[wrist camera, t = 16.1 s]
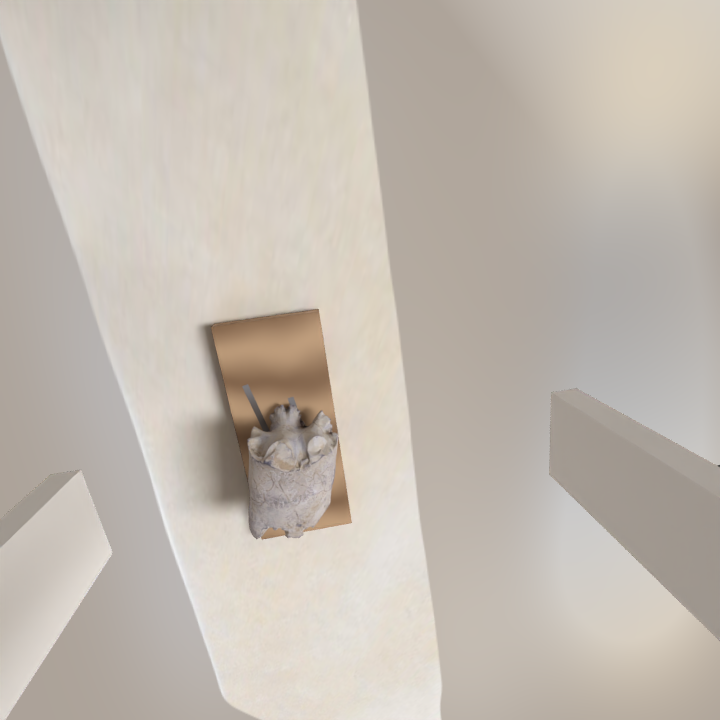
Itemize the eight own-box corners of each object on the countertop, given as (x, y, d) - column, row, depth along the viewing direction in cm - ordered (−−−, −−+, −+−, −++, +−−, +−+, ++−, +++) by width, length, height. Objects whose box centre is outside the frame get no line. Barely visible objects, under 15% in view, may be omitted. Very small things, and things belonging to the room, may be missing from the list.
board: (214, 323, 38) (210, 327, 36) (318, 309, 39) (318, 311, 37) (263, 530, 45) (261, 539, 43) (350, 514, 46) (351, 523, 44)
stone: (253, 506, 42) (243, 555, 36) (254, 401, 39) (244, 434, 32) (328, 506, 43) (332, 553, 37) (336, 404, 40) (342, 436, 33)
